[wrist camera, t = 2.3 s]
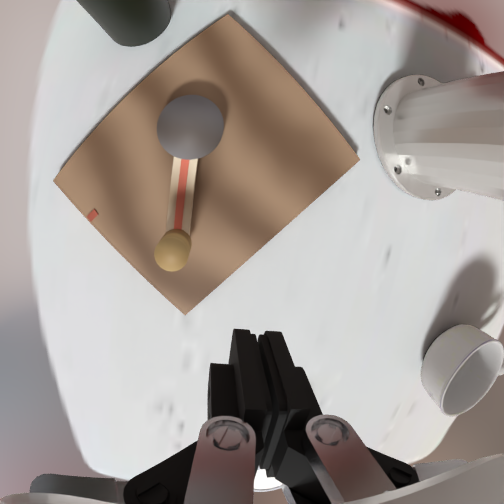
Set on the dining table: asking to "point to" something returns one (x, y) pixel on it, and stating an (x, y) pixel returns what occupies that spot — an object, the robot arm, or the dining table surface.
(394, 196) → the dining table surface
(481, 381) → the teacup
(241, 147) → the brown cloth
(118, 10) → the wine bottle
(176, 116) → the multicoloured piece
